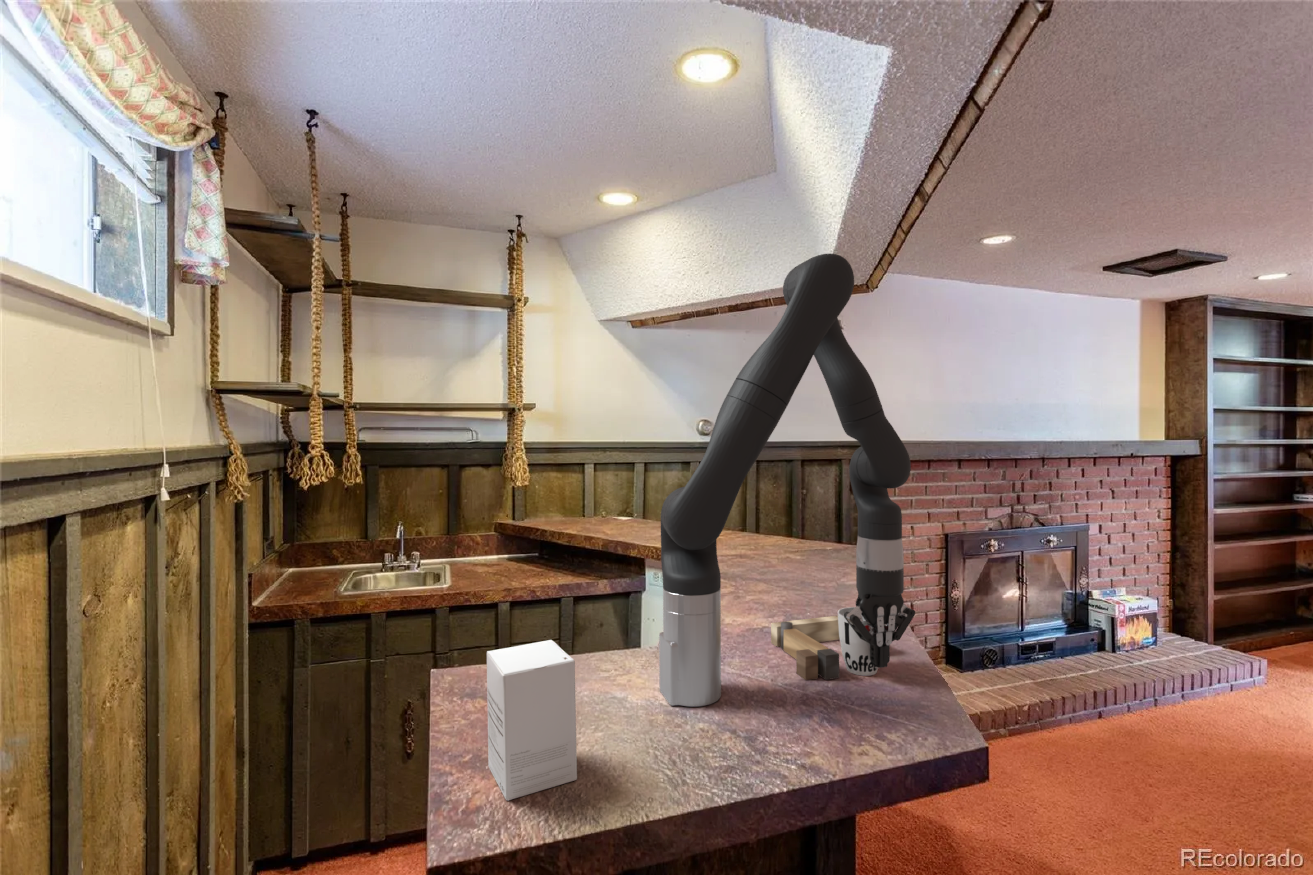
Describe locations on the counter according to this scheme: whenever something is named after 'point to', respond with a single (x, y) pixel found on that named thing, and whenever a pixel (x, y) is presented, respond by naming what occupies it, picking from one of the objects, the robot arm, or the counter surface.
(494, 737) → the supplement box
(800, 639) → the leg
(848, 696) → the counter surface
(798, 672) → the jointed wooden sticks
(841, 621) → the cup
